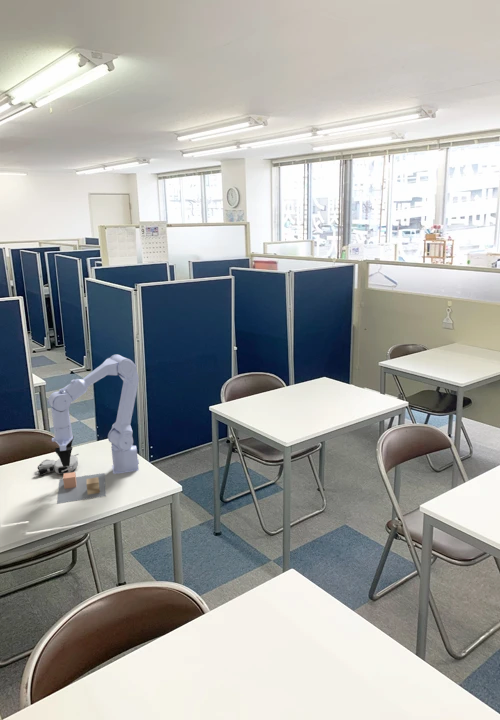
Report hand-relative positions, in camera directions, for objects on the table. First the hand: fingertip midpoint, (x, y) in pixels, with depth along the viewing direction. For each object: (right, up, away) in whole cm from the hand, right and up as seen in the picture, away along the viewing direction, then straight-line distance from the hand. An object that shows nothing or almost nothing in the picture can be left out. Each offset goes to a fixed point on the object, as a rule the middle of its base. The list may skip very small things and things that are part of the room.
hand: (67, 461), depth 195 cm
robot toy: (-8, -7, +15) cm, 19 cm away
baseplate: (+5, -10, +1) cm, 11 cm away
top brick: (+10, -10, -2) cm, 14 cm away
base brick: (+1, -9, +2) cm, 9 cm away
